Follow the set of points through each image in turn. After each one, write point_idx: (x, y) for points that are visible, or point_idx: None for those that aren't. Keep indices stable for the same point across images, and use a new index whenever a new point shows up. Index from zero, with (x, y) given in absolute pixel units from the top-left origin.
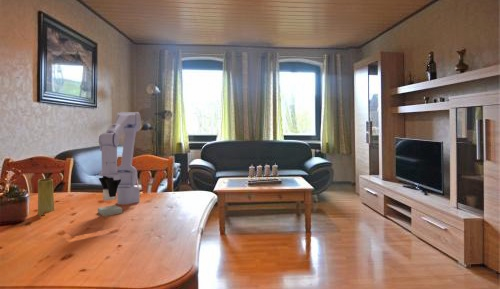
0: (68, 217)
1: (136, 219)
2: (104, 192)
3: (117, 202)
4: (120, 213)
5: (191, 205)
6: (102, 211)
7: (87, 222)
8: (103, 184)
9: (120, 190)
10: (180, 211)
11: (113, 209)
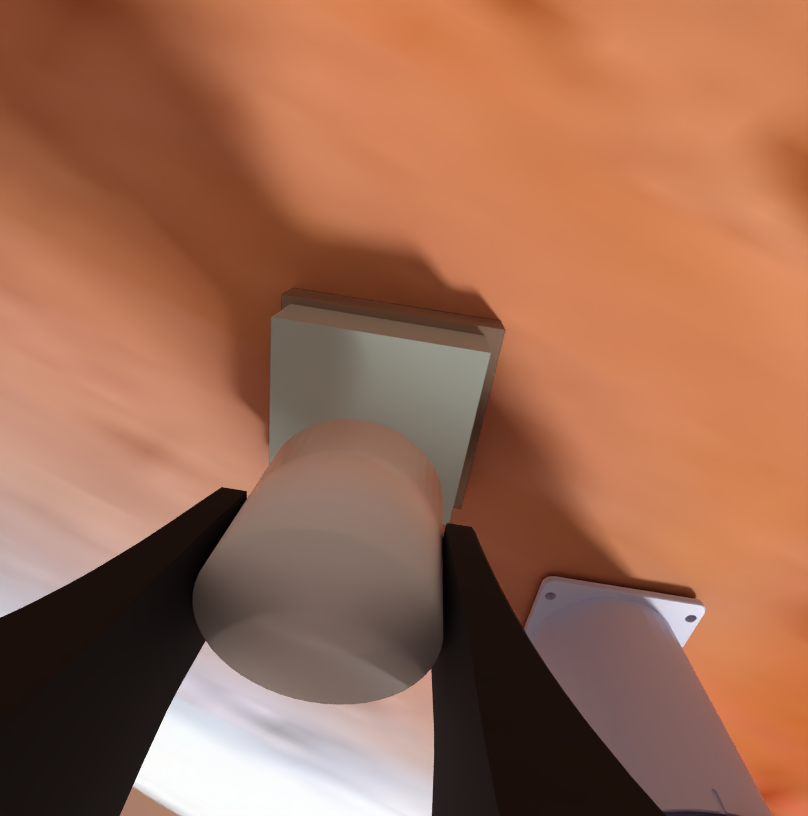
0: (745, 44)
1: (123, 463)
2: (290, 497)
3: (641, 622)
4: None
5: (231, 784)
6: (330, 323)
7: (323, 112)
8: (472, 707)
9: (642, 768)
10: None
11: (277, 422)
